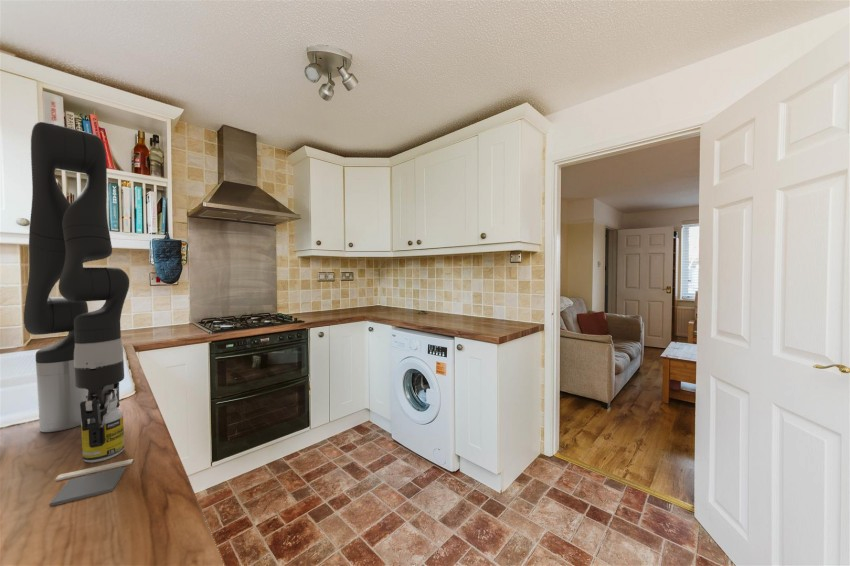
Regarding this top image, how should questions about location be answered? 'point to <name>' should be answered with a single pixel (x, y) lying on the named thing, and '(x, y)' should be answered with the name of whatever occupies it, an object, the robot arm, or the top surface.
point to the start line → (94, 469)
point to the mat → (88, 486)
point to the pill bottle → (106, 437)
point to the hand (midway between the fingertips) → (103, 438)
